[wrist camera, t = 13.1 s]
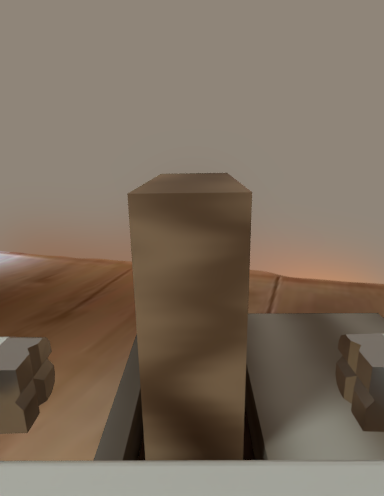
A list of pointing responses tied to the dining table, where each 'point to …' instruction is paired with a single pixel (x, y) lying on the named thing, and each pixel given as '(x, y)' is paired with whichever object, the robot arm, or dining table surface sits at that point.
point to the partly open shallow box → (274, 393)
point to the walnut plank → (191, 313)
